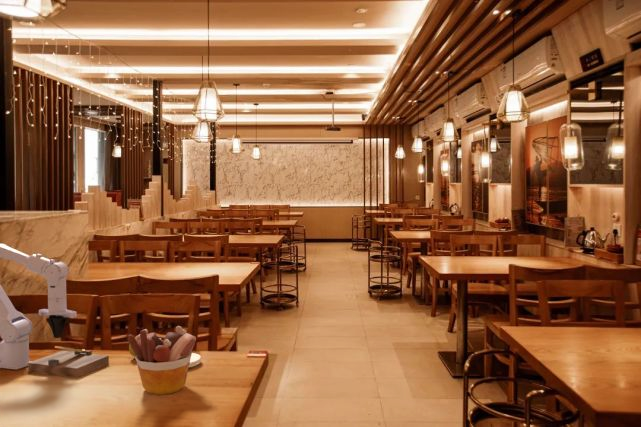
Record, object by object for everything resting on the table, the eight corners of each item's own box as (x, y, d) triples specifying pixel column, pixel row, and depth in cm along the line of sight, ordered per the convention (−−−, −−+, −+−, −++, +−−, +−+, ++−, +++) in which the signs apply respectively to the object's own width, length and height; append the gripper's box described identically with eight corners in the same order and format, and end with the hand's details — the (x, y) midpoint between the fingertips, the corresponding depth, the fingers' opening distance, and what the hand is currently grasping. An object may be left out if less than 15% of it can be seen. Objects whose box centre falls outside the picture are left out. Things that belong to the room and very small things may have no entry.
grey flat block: (28, 371, 185) (28, 358, 185) (62, 359, 199) (62, 346, 199) (76, 377, 179) (76, 363, 178) (108, 364, 193) (108, 350, 193)
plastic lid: (186, 357, 202) (186, 350, 202) (209, 365, 192) (208, 357, 192) (151, 365, 192) (151, 358, 192) (172, 374, 182) (172, 367, 182)
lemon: (140, 360, 196) (140, 338, 196) (126, 360, 198) (125, 337, 197) (148, 356, 202) (147, 334, 202) (134, 355, 203) (133, 333, 203)
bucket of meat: (164, 376, 180) (163, 314, 179) (206, 383, 173) (205, 319, 172) (117, 396, 162) (116, 328, 161) (161, 405, 154) (160, 334, 154)
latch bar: (54, 348, 185) (55, 345, 185) (80, 352, 196) (80, 350, 196) (61, 349, 184) (62, 346, 184) (87, 353, 195) (87, 350, 195)
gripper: (31, 298, 189) (32, 338, 189) (65, 301, 184) (66, 341, 185) (47, 295, 195) (48, 333, 196) (80, 297, 191) (81, 336, 191)
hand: (58, 337), depth 191 cm, fingers closed
